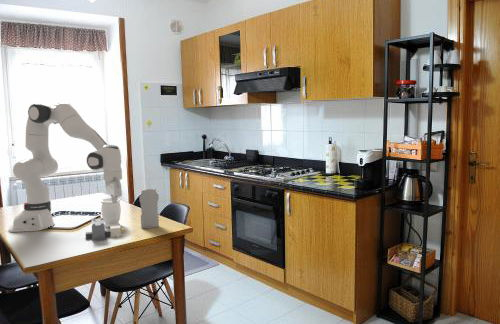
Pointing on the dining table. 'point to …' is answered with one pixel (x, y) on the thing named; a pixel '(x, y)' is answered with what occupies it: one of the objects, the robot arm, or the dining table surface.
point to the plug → (109, 232)
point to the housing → (98, 229)
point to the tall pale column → (149, 208)
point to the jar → (111, 212)
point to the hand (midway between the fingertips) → (114, 202)
